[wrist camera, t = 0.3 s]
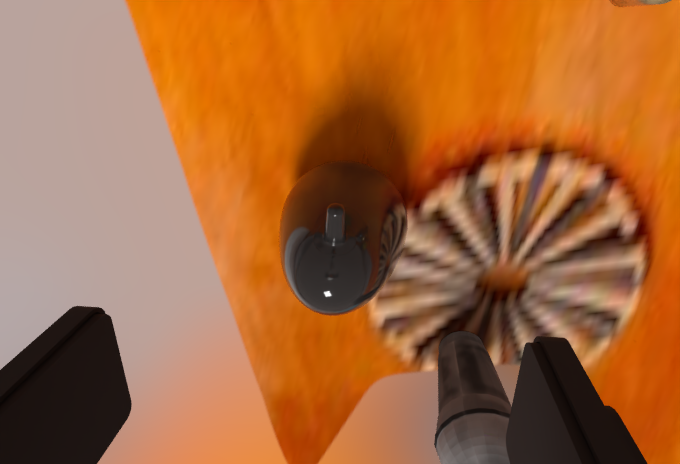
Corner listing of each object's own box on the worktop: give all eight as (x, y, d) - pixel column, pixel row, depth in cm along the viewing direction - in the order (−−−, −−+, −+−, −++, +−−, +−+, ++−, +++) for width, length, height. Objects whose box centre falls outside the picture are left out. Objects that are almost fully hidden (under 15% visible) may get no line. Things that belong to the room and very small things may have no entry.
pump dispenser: (414, 153, 39) (426, 224, 25) (397, 261, 43) (399, 372, 29) (295, 140, 39) (243, 202, 26) (290, 247, 44) (244, 350, 30)
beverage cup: (507, 326, 45) (586, 532, 27) (487, 383, 48) (545, 601, 30) (433, 313, 45) (462, 508, 27) (418, 370, 48) (433, 579, 30)
